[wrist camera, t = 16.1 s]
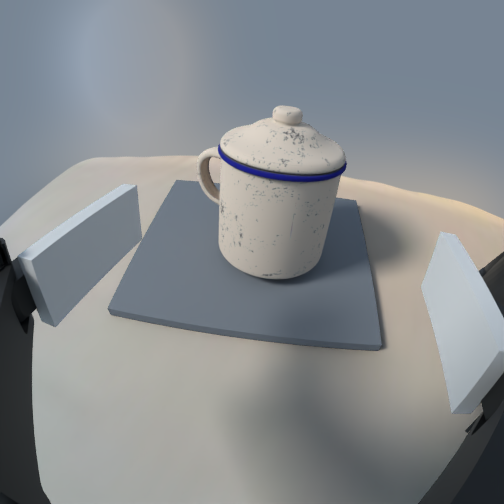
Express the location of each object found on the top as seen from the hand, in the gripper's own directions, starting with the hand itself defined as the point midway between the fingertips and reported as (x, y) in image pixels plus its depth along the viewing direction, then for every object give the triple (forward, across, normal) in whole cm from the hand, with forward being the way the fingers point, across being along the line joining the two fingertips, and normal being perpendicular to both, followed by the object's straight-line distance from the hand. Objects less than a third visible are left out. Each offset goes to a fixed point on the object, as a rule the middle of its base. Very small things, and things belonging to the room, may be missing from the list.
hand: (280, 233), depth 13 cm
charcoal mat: (+13, -3, -8) cm, 16 cm away
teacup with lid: (+12, -3, -8) cm, 15 cm away
